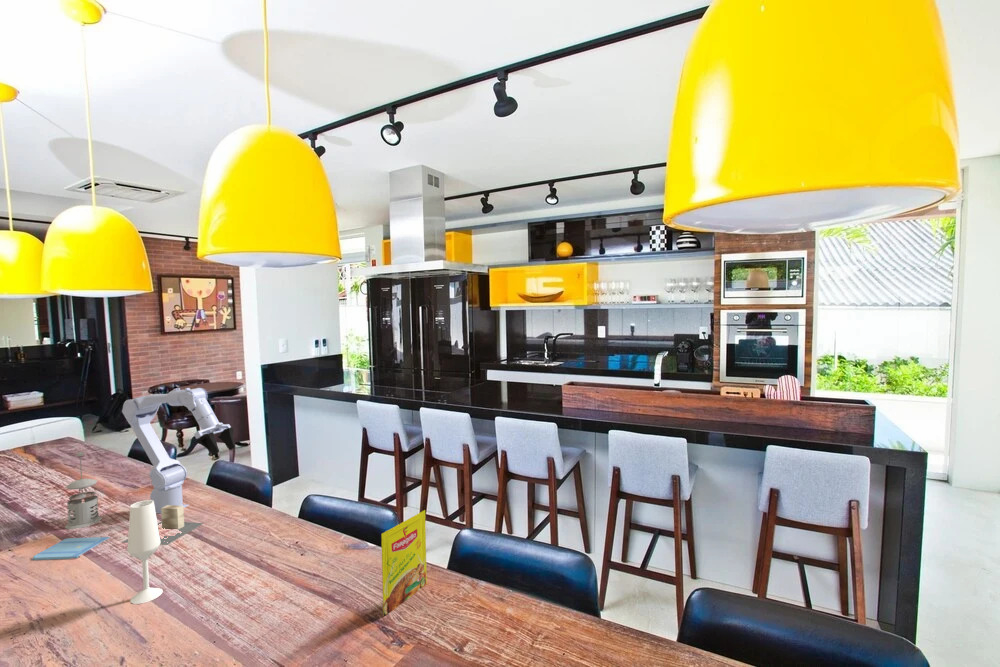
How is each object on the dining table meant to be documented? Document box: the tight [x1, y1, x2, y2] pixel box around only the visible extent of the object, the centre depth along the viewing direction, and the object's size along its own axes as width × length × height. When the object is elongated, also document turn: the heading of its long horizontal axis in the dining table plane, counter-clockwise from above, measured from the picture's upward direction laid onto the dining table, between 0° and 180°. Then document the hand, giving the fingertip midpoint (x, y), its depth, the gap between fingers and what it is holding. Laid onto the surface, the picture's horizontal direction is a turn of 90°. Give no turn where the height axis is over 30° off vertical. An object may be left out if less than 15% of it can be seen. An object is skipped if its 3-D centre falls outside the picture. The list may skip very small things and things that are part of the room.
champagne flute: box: [127, 499, 164, 605], centre depth 118 cm, size 7×7×24 cm
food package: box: [380, 509, 428, 618], centre depth 115 cm, size 15×1×20 cm, turn 148°
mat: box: [122, 520, 205, 546], centre depth 153 cm, size 16×15×1 cm
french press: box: [64, 451, 103, 530], centre depth 162 cm, size 10×12×25 cm
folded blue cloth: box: [32, 536, 110, 561], centre depth 144 cm, size 14×12×1 cm
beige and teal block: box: [161, 505, 185, 529], centre depth 156 cm, size 6×3×7 cm, turn 82°
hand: (224, 450), depth 164 cm, fingers open, 7 cm apart
